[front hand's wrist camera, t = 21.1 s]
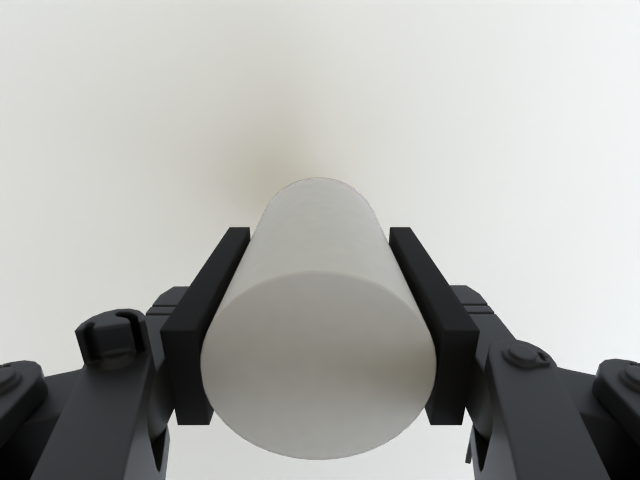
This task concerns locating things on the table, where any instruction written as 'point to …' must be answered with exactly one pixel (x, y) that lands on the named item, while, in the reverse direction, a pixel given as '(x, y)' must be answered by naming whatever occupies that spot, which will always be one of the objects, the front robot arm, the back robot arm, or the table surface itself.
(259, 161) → the table surface
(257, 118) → the table surface
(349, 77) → the table surface
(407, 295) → the canister
